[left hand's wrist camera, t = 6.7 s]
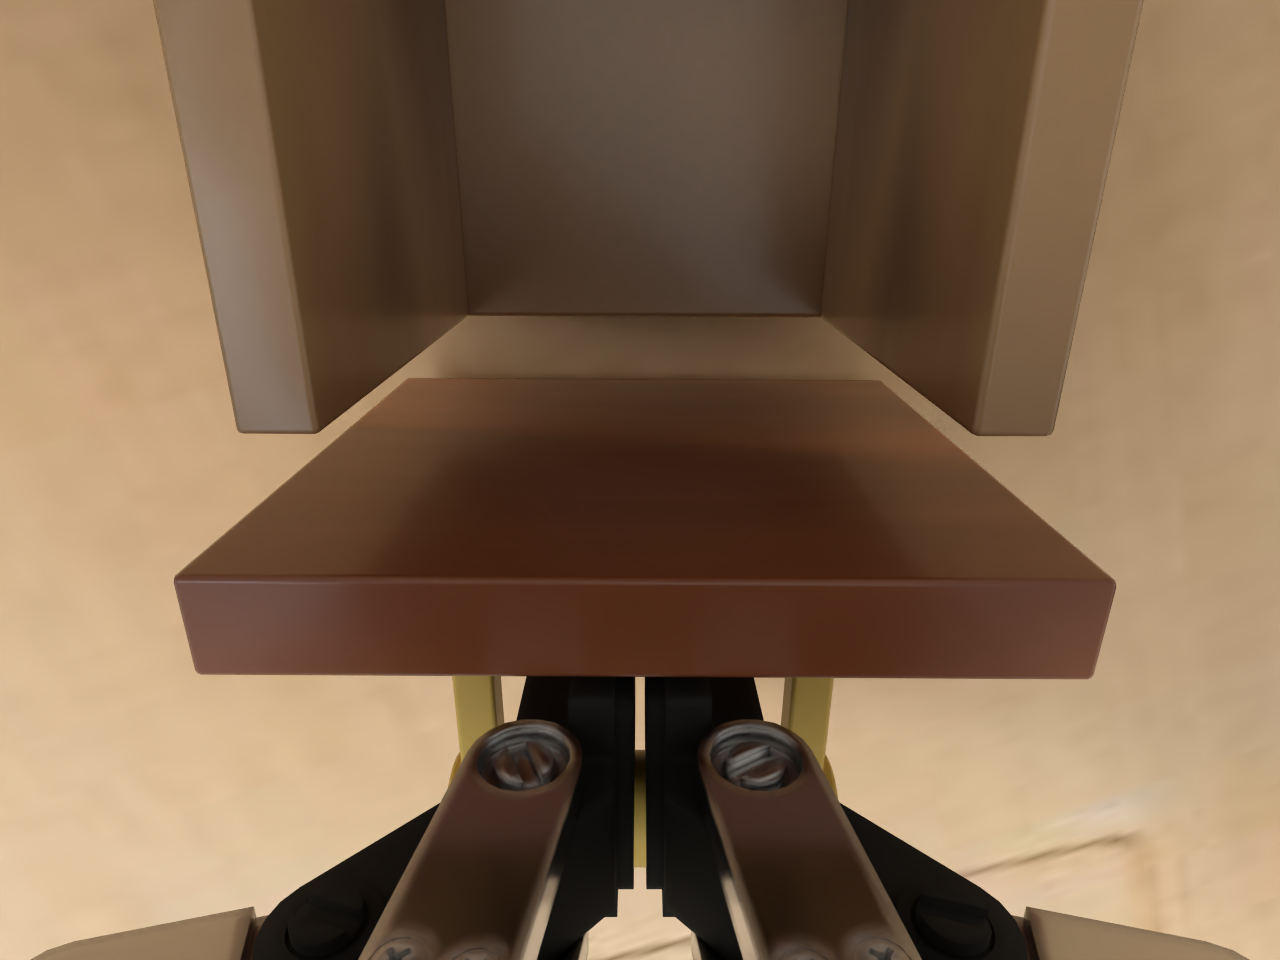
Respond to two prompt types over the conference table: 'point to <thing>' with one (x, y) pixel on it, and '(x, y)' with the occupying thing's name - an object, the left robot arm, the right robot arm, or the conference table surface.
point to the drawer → (646, 286)
